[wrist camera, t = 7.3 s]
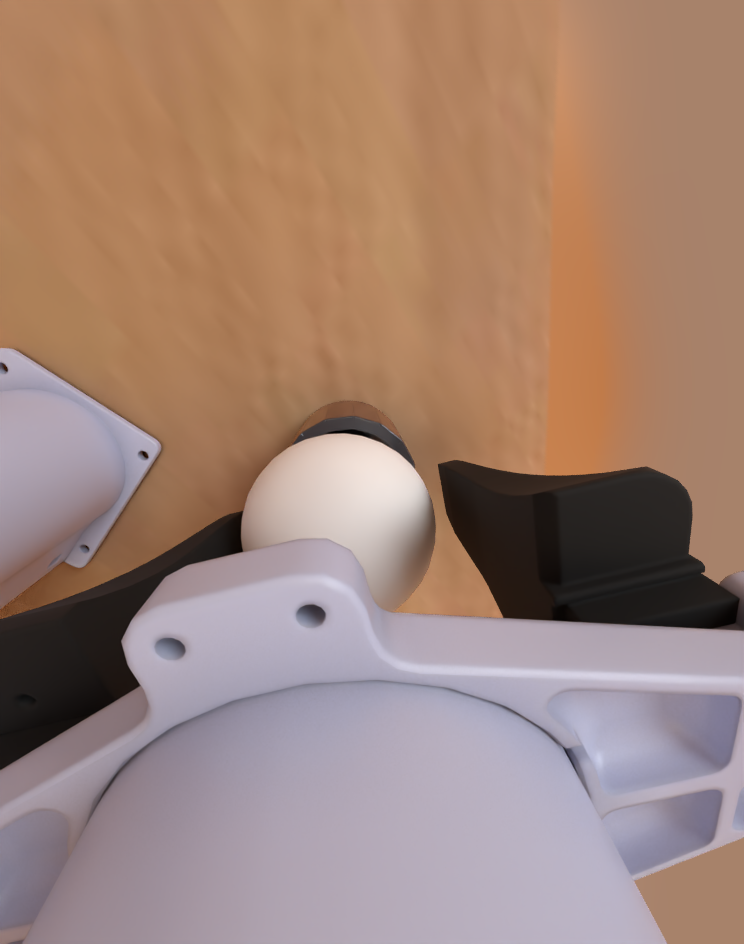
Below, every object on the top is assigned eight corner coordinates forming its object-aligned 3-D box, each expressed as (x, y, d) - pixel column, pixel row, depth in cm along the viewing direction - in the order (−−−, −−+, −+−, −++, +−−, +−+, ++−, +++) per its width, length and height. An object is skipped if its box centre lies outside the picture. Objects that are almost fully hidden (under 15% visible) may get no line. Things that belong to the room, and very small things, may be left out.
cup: (357, 519, 21) (360, 564, 17) (274, 462, 19) (253, 495, 15) (423, 444, 20) (443, 472, 15) (338, 376, 18) (335, 387, 14)
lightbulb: (424, 458, 19) (508, 591, 9) (342, 526, 20) (332, 713, 10) (348, 372, 17) (342, 412, 7) (263, 451, 19) (152, 585, 8)
